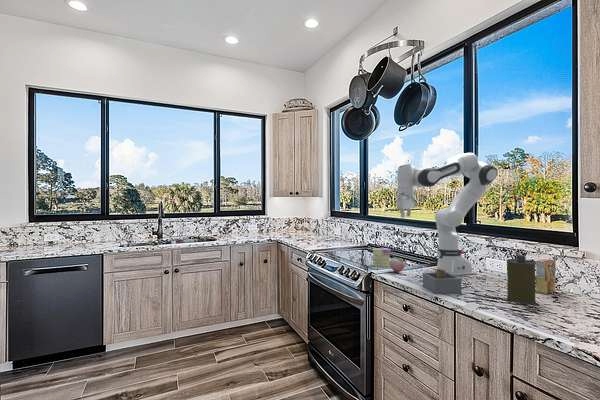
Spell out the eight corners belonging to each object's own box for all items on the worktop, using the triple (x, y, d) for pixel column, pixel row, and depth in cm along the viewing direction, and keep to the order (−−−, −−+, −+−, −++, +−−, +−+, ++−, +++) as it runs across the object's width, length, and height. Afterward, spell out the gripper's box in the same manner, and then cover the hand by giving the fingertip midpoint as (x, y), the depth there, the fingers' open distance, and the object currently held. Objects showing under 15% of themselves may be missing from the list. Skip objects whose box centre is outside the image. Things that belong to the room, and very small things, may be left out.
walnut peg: (443, 288, 155) (442, 268, 155) (447, 290, 151) (447, 270, 151) (435, 288, 155) (435, 268, 155) (439, 290, 151) (439, 270, 151)
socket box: (447, 285, 160) (447, 272, 160) (461, 293, 147) (461, 278, 147) (422, 286, 159) (422, 272, 159) (434, 293, 146) (434, 279, 146)
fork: (425, 269, 200) (425, 266, 200) (404, 263, 218) (404, 260, 218) (429, 269, 201) (429, 266, 201) (408, 262, 220) (408, 260, 220)
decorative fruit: (386, 272, 190) (386, 256, 190) (393, 270, 196) (393, 254, 196) (400, 274, 183) (400, 258, 183) (407, 272, 189) (407, 256, 189)
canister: (537, 305, 129) (537, 258, 129) (507, 301, 134) (507, 256, 134) (534, 298, 138) (534, 254, 138) (506, 295, 143) (506, 252, 143)
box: (388, 265, 211) (388, 248, 211) (389, 267, 205) (389, 249, 205) (372, 265, 212) (372, 248, 212) (374, 266, 206) (373, 249, 206)
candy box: (545, 289, 152) (545, 258, 152) (556, 291, 148) (555, 259, 148) (535, 291, 148) (535, 260, 148) (546, 294, 144) (545, 261, 144)
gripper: (404, 192, 164) (405, 218, 164) (416, 192, 181) (416, 216, 181) (393, 192, 168) (393, 217, 168) (405, 193, 184) (406, 216, 184)
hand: (405, 217), depth 174 cm, fingers open, 8 cm apart
